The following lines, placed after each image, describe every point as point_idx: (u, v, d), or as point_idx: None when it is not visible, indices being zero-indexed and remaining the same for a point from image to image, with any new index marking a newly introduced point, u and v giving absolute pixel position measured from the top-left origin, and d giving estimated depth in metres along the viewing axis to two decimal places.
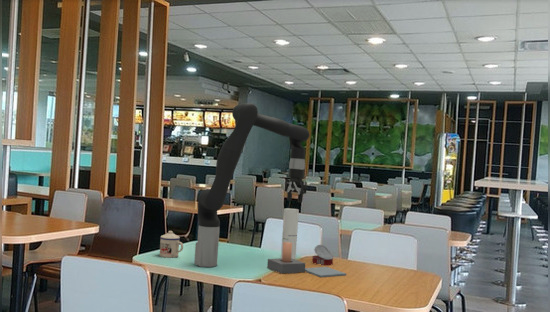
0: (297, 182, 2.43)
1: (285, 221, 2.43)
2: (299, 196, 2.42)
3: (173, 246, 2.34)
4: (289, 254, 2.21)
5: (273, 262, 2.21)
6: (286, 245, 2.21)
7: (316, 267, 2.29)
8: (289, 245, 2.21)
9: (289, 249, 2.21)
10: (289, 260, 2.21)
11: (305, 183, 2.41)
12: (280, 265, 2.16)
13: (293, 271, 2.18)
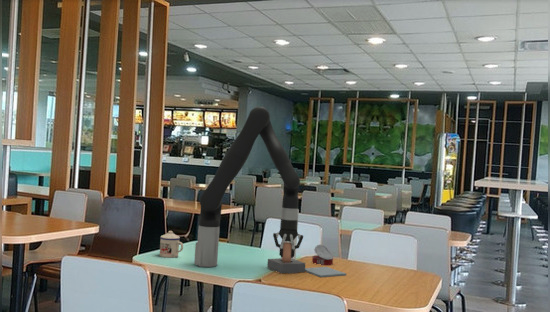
0: (294, 235, 2.22)
1: None
2: (293, 251, 2.22)
3: (173, 246, 2.34)
4: (289, 254, 2.21)
5: (273, 262, 2.21)
6: (286, 245, 2.21)
7: (316, 267, 2.29)
8: (289, 245, 2.21)
9: (289, 249, 2.21)
10: (289, 260, 2.21)
11: None
12: (280, 265, 2.16)
13: (293, 271, 2.18)
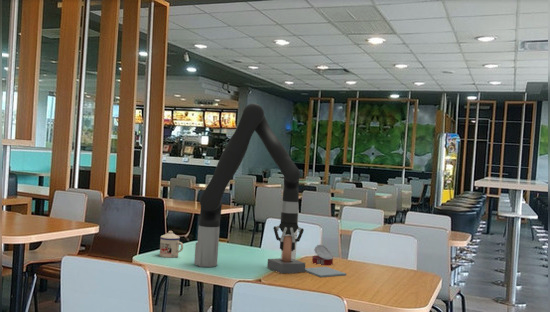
0: (294, 229, 2.22)
1: None
2: (293, 244, 2.22)
3: (173, 246, 2.34)
4: (289, 247, 2.21)
5: (273, 262, 2.21)
6: (286, 238, 2.21)
7: (316, 267, 2.29)
8: (289, 238, 2.21)
9: (289, 242, 2.21)
10: (289, 253, 2.21)
11: None
12: (280, 265, 2.16)
13: (293, 271, 2.18)
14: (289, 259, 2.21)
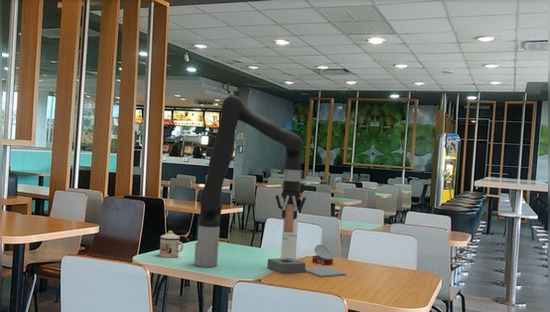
0: (297, 197, 2.22)
1: None
2: None
3: (173, 246, 2.34)
4: (291, 216, 2.22)
5: (273, 262, 2.21)
6: (288, 206, 2.21)
7: (316, 267, 2.29)
8: (291, 207, 2.21)
9: (291, 211, 2.21)
10: (291, 222, 2.22)
11: None
12: (280, 265, 2.16)
13: (293, 271, 2.18)
14: (291, 227, 2.22)
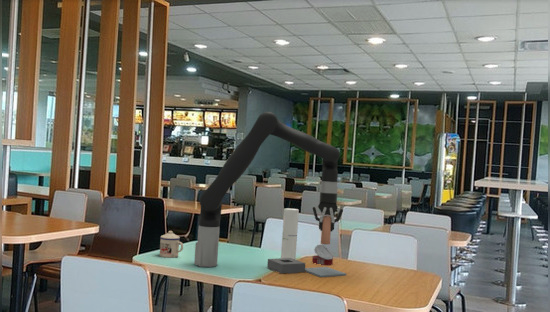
0: (334, 209, 2.22)
1: (285, 221, 2.43)
2: (332, 225, 2.22)
3: (173, 246, 2.34)
4: (329, 227, 2.21)
5: (273, 262, 2.21)
6: (326, 218, 2.21)
7: (316, 267, 2.29)
8: (329, 218, 2.21)
9: (329, 222, 2.21)
10: (329, 233, 2.21)
11: None
12: (280, 265, 2.16)
13: (293, 271, 2.18)
14: (328, 239, 2.21)
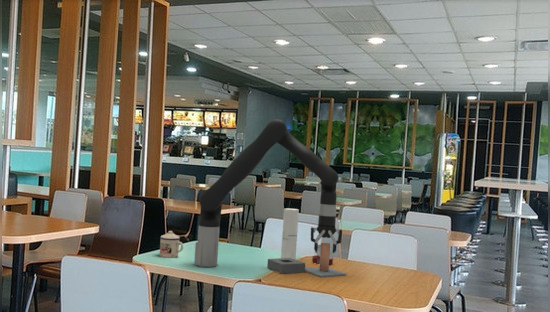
0: (332, 231, 2.22)
1: (285, 221, 2.43)
2: (334, 246, 2.22)
3: (173, 246, 2.34)
4: (327, 255, 2.21)
5: (273, 262, 2.21)
6: (324, 246, 2.21)
7: (316, 267, 2.29)
8: (327, 246, 2.21)
9: (327, 250, 2.21)
10: (327, 261, 2.21)
11: None
12: (280, 265, 2.16)
13: (293, 271, 2.18)
14: (327, 267, 2.21)
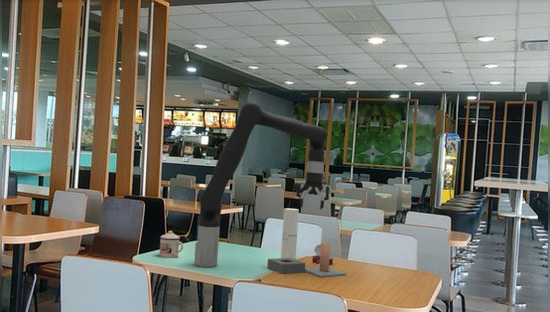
0: (319, 187, 2.24)
1: (285, 221, 2.43)
2: (322, 203, 2.24)
3: (173, 246, 2.34)
4: (327, 255, 2.21)
5: (273, 262, 2.21)
6: (324, 246, 2.21)
7: (316, 267, 2.29)
8: (327, 246, 2.21)
9: (327, 250, 2.21)
10: (327, 261, 2.21)
11: None
12: (280, 265, 2.16)
13: (293, 271, 2.18)
14: (327, 267, 2.21)
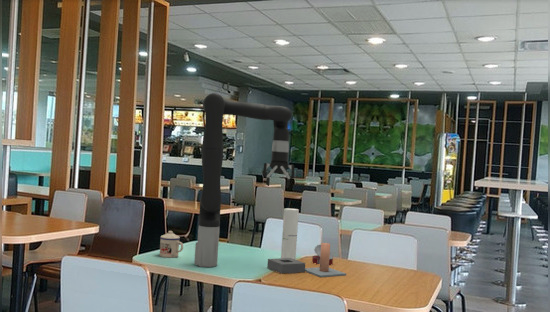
0: (285, 166, 2.28)
1: (285, 221, 2.43)
2: (288, 181, 2.28)
3: (173, 246, 2.34)
4: (327, 255, 2.21)
5: (273, 262, 2.21)
6: (324, 246, 2.21)
7: (316, 267, 2.29)
8: (327, 246, 2.21)
9: (327, 250, 2.21)
10: (327, 261, 2.21)
11: None
12: (280, 265, 2.16)
13: (293, 271, 2.18)
14: (327, 267, 2.21)
